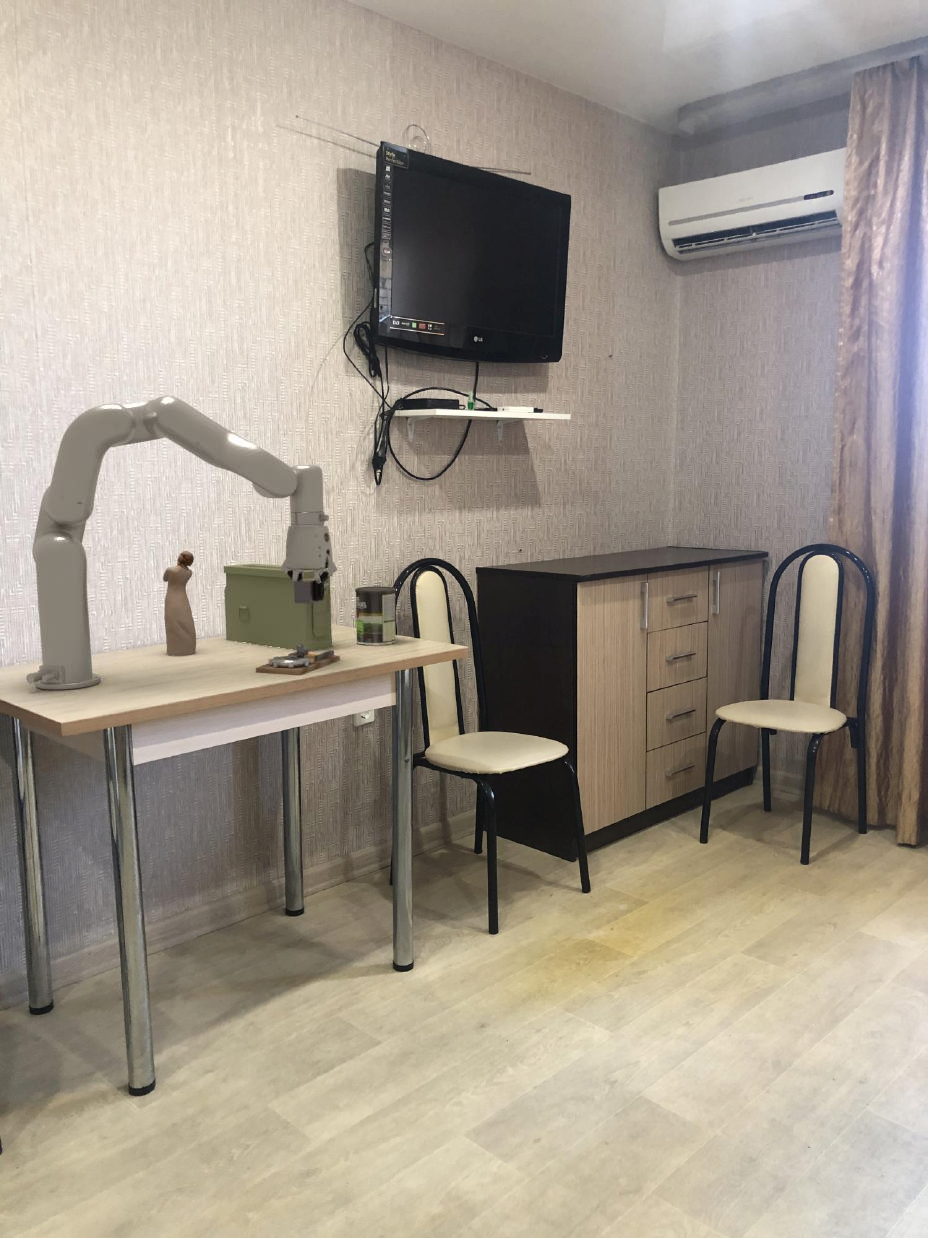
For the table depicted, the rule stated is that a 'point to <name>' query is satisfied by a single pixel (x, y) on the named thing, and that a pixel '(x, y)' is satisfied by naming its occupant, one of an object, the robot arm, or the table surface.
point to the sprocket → (292, 659)
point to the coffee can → (375, 615)
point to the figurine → (179, 608)
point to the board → (318, 662)
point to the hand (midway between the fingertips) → (309, 599)
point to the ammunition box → (274, 609)
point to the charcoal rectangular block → (305, 591)
